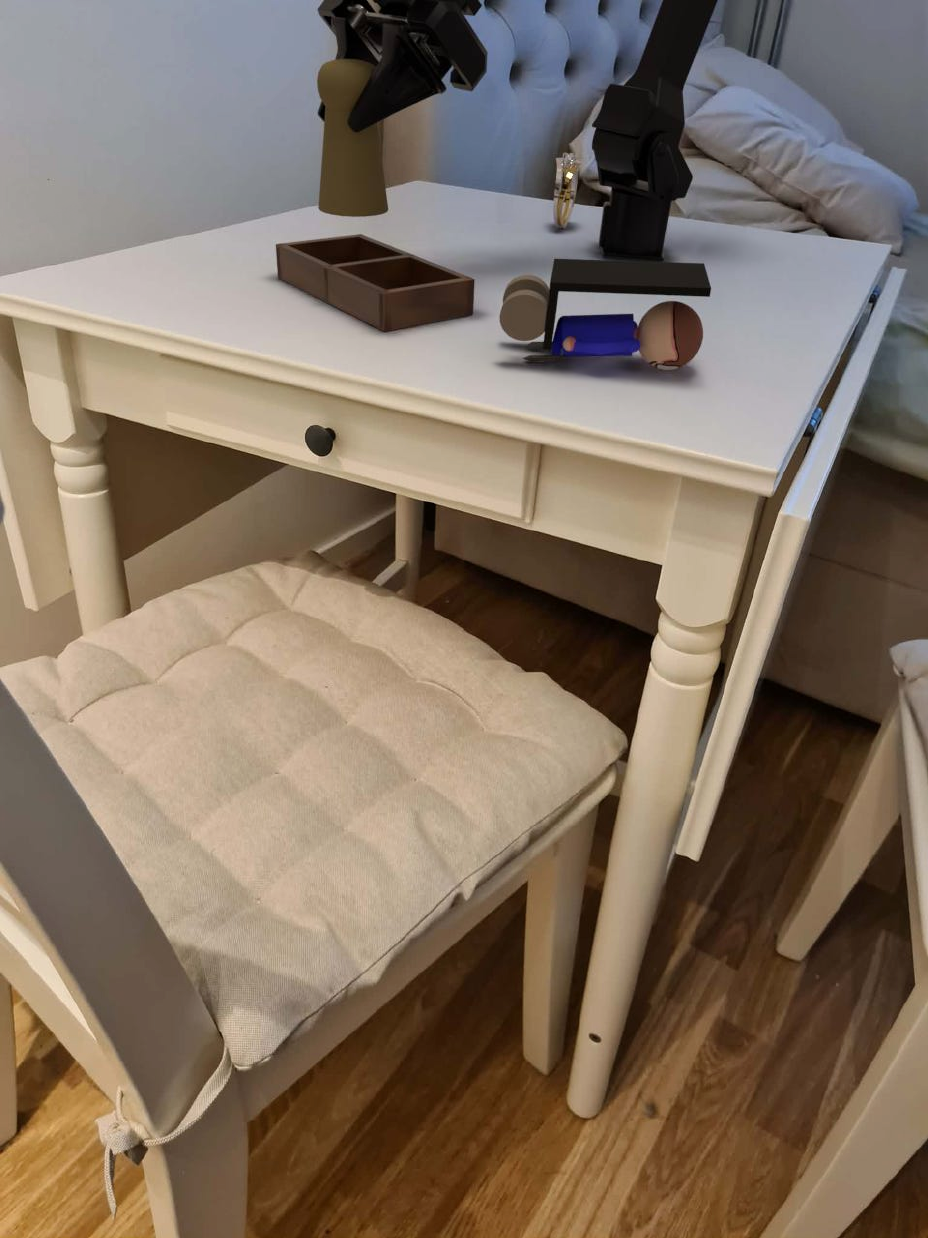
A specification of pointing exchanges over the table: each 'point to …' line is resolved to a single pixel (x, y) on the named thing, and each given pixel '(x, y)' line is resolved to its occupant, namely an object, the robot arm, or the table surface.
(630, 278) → the figurine character
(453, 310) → the frame
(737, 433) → the table surface
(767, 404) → the table surface
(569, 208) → the ring
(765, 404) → the table surface
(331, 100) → the cork
